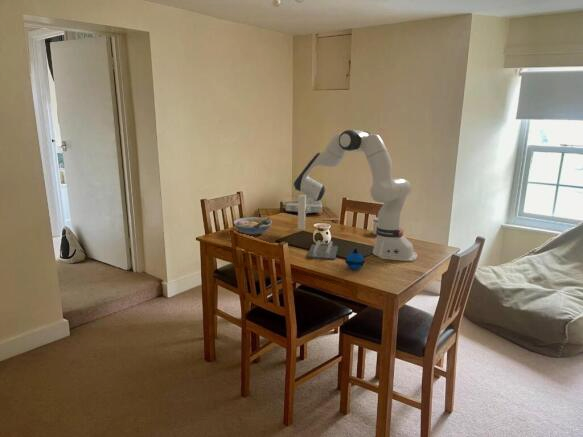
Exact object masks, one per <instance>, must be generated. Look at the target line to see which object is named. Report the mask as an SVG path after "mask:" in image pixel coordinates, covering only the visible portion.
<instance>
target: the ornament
mask: <svg viewBox="0 0 583 437" xmlns="http://www.w3.org/2000/svg"><path fill="white" fill-rule="evenodd" d="M364 263H365V258H364V256H363V255H362V254H361V252H358V249H357V248H354V250H353V251H352V252H350V253H349V254H347V256H346V257H345V264H346V266H347V267H348V268H349V269H351V270H353V271H356V270H359V269H361V268H362V267H363V266H364Z"/></svg>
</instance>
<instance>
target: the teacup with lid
mask: <svg viewBox="0 0 583 437" xmlns="http://www.w3.org/2000/svg"><path fill="white" fill-rule="evenodd" d="M372 226H373V228H372V234H373V235H375V236H376V228H377V226H378V216H377V217H374V218H373V225H372Z"/></svg>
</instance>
